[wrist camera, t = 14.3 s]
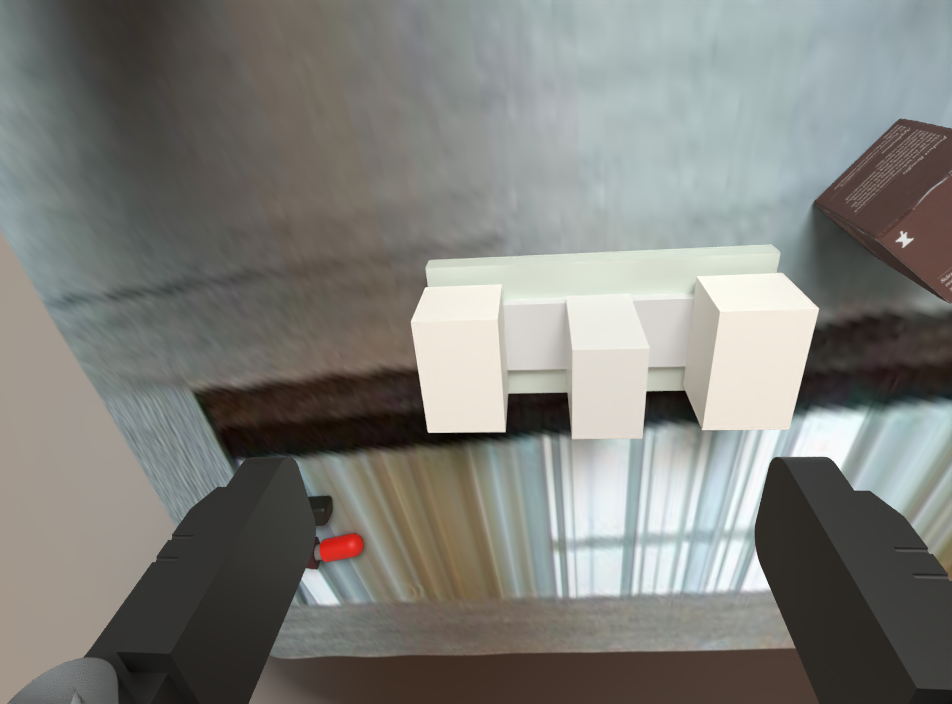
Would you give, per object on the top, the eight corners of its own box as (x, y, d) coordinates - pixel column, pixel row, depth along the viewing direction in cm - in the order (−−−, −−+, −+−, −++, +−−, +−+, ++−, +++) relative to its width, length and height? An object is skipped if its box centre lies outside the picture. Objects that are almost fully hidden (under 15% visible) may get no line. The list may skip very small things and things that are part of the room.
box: (873, 258, 35) (948, 308, 29) (808, 201, 34) (872, 241, 27) (968, 178, 32) (1074, 214, 26) (901, 113, 31) (996, 134, 24)
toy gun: (273, 569, 56) (252, 612, 52) (260, 482, 50) (236, 523, 46) (367, 581, 56) (353, 626, 52) (366, 496, 50) (351, 538, 46)
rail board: (445, 383, 43) (430, 444, 36) (429, 260, 38) (408, 306, 31) (746, 377, 40) (785, 442, 34) (771, 244, 35) (823, 291, 29)
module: (566, 378, 39) (571, 443, 33) (565, 296, 36) (572, 350, 30) (624, 377, 38) (641, 442, 32) (629, 293, 35) (649, 348, 29)
